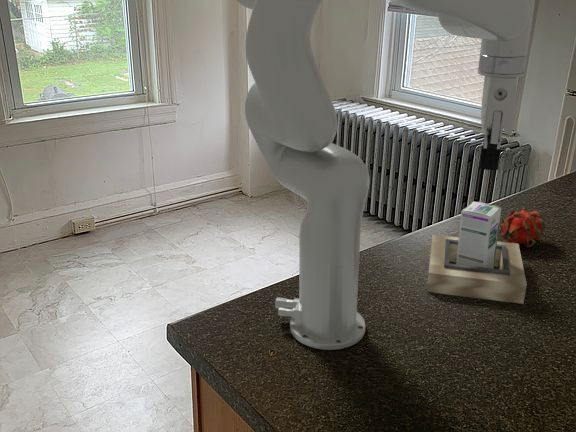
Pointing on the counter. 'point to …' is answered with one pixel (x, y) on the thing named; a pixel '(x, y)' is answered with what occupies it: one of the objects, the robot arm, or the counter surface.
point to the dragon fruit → (523, 227)
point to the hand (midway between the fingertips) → (488, 168)
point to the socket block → (476, 273)
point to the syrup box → (478, 235)
